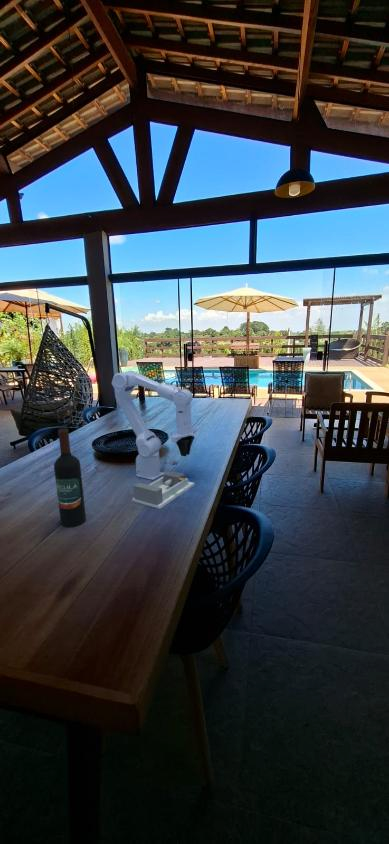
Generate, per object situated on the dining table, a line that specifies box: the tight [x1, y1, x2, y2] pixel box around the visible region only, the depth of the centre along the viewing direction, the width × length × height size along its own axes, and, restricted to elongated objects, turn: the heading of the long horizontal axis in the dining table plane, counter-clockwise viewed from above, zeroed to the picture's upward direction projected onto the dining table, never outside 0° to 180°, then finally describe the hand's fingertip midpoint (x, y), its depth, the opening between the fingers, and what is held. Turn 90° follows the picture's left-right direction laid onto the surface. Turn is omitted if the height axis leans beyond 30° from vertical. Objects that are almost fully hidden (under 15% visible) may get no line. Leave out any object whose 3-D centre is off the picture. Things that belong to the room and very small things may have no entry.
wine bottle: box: [53, 428, 87, 528], centre depth 112 cm, size 8×8×30 cm
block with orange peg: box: [162, 470, 186, 486], centre depth 137 cm, size 9×7×4 cm
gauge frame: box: [131, 476, 195, 509], centre depth 134 cm, size 12×22×6 cm, turn 148°
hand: (185, 455), depth 143 cm, fingers closed
